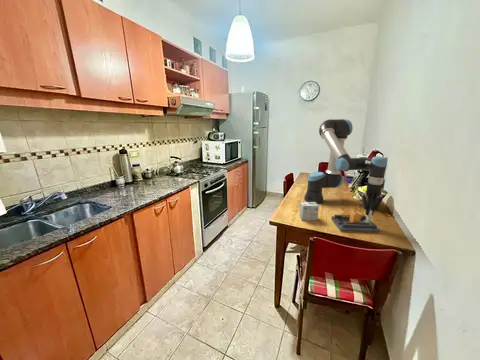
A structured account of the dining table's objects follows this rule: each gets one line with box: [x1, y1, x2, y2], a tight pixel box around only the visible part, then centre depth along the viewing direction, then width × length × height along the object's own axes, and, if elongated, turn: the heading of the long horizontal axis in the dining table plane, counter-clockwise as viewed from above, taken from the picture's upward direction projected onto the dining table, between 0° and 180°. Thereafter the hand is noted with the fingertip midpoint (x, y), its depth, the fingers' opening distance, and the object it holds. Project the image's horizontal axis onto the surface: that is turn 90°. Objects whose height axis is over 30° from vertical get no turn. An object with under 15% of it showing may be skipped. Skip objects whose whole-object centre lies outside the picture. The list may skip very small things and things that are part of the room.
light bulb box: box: [298, 201, 320, 221], centre depth 134 cm, size 11×7×11 cm, turn 92°
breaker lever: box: [349, 210, 362, 222], centre depth 124 cm, size 5×4×7 cm
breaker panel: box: [331, 215, 381, 234], centre depth 125 cm, size 15×22×4 cm
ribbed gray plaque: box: [333, 214, 378, 228], centre depth 125 cm, size 14×20×2 cm
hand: (368, 219), depth 124 cm, fingers closed
